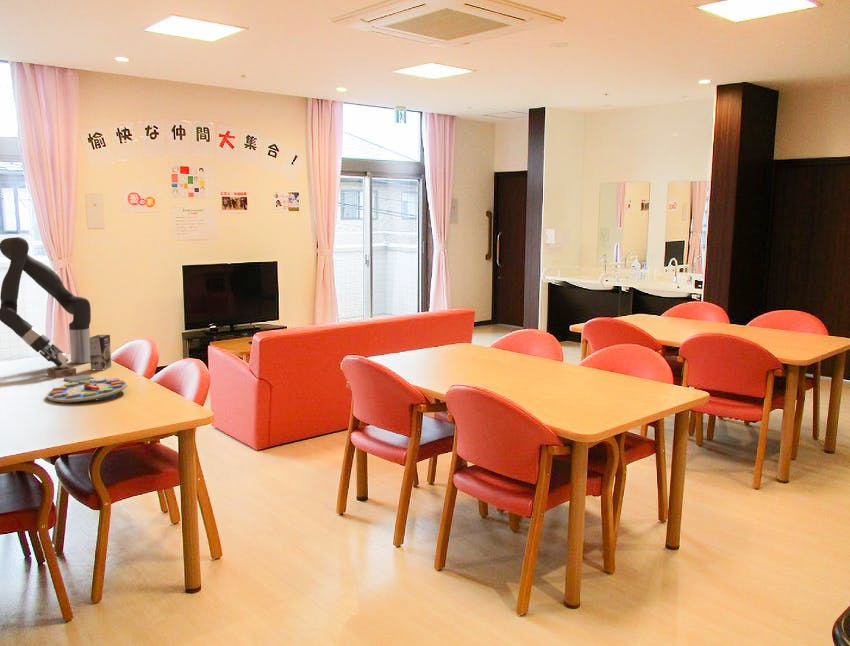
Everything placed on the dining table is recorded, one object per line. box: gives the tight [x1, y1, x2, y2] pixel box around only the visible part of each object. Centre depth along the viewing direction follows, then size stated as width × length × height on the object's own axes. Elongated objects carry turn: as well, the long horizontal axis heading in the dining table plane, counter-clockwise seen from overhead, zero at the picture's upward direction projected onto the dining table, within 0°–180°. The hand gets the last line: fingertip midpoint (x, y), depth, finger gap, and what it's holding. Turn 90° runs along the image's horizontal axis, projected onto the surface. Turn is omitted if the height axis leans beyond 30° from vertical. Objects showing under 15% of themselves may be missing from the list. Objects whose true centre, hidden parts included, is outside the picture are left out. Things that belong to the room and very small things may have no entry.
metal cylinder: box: [55, 352, 68, 370], centre depth 337 cm, size 4×4×10 cm
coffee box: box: [89, 334, 112, 371], centre depth 351 cm, size 9×6×16 cm
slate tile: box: [63, 374, 95, 383], centre depth 328 cm, size 9×9×1 cm
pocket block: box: [46, 365, 77, 378], centre depth 338 cm, size 9×9×3 cm
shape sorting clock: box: [46, 377, 128, 404], centre depth 301 cm, size 31×30×6 cm
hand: (63, 363), depth 337 cm, fingers open, 8 cm apart
